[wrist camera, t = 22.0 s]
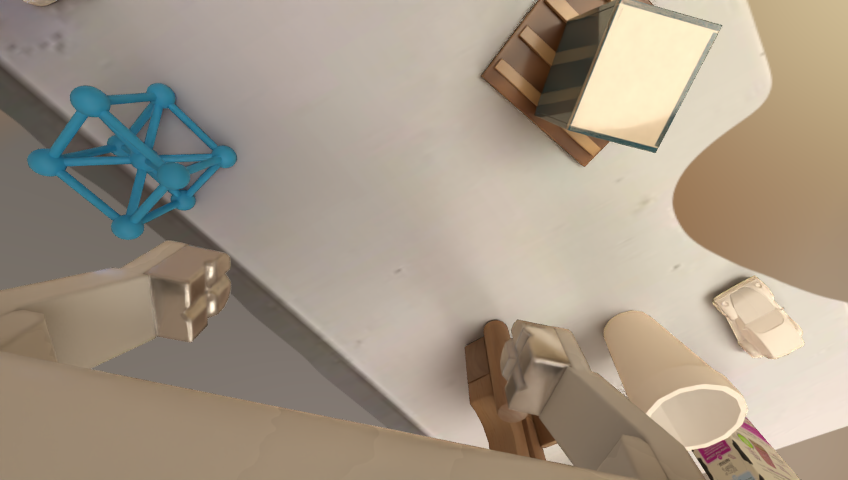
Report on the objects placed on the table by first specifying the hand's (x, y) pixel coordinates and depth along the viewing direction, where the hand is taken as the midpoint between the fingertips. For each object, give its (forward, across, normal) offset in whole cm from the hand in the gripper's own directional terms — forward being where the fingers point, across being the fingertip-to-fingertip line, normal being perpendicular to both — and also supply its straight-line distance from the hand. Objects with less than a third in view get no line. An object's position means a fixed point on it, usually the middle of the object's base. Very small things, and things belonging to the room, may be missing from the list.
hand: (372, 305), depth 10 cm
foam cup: (+29, -32, +17) cm, 46 cm away
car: (+29, -44, +11) cm, 54 cm away
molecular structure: (+29, +25, +8) cm, 39 cm away
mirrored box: (+23, -13, -5) cm, 27 cm away
